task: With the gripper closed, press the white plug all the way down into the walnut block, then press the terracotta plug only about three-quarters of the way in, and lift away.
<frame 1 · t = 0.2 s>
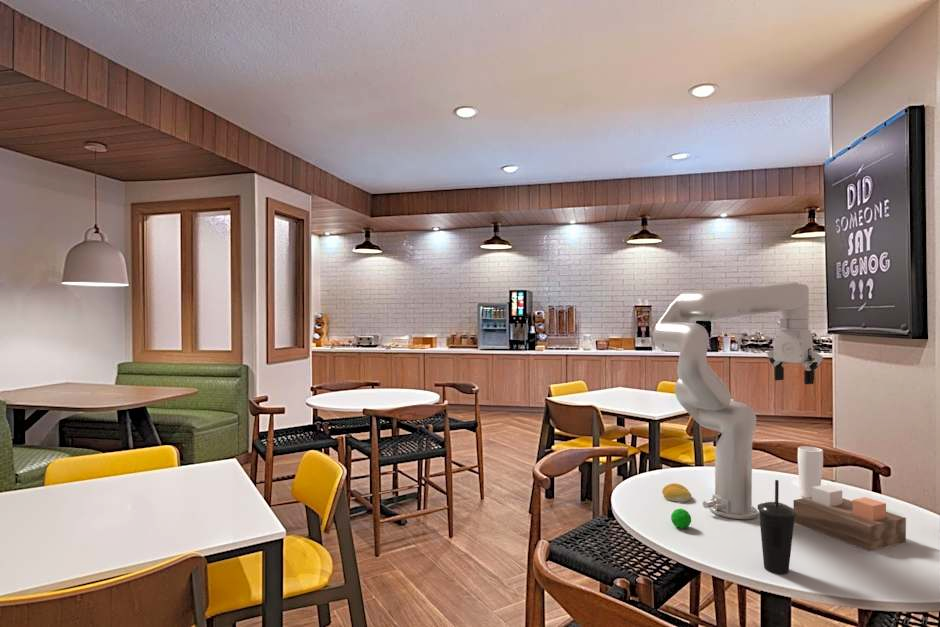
hand: (793, 381, 170), 36 cm above the table, tool pointing down, fingers open, 9 cm apart
bread roll: (676, 498, 174), on the table
drinking cup: (776, 570, 126), on the table
terracotta plug: (869, 509, 143), point 8 cm above the table, slide at 0.0 cm
walnut block: (847, 531, 148), on the table
white plug: (826, 496, 153), point 8 cm above the table, slide at 0.0 cm
drinking glass: (809, 498, 174), on the table
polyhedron: (681, 528, 151), on the table
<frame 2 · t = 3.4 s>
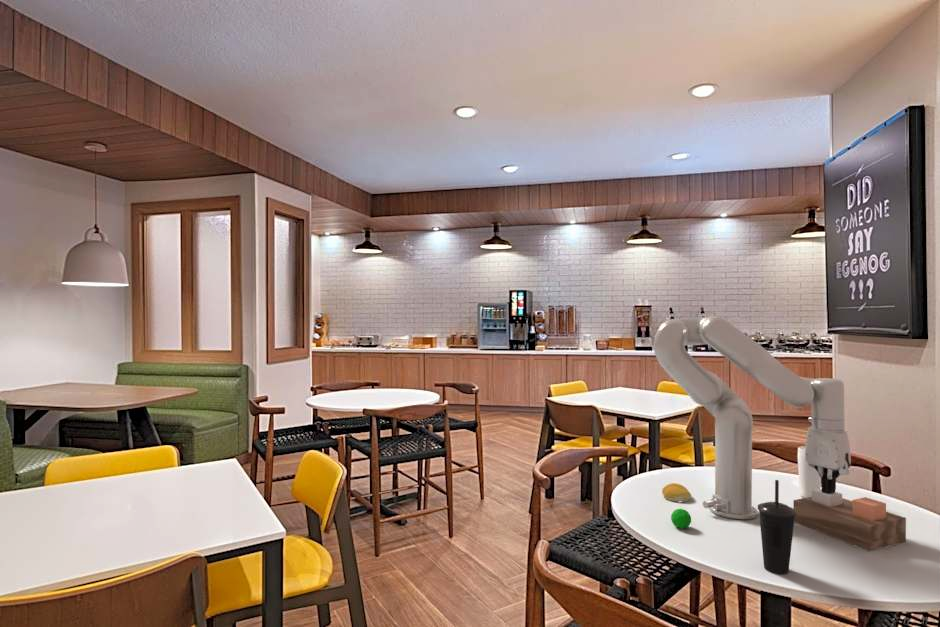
hand: (828, 492, 153), 9 cm above the table, tool pointing down, fingers closed
white plug: (826, 499, 153), point 7 cm above the table, slide at 1.0 cm, touching gripper
everything else where it was.
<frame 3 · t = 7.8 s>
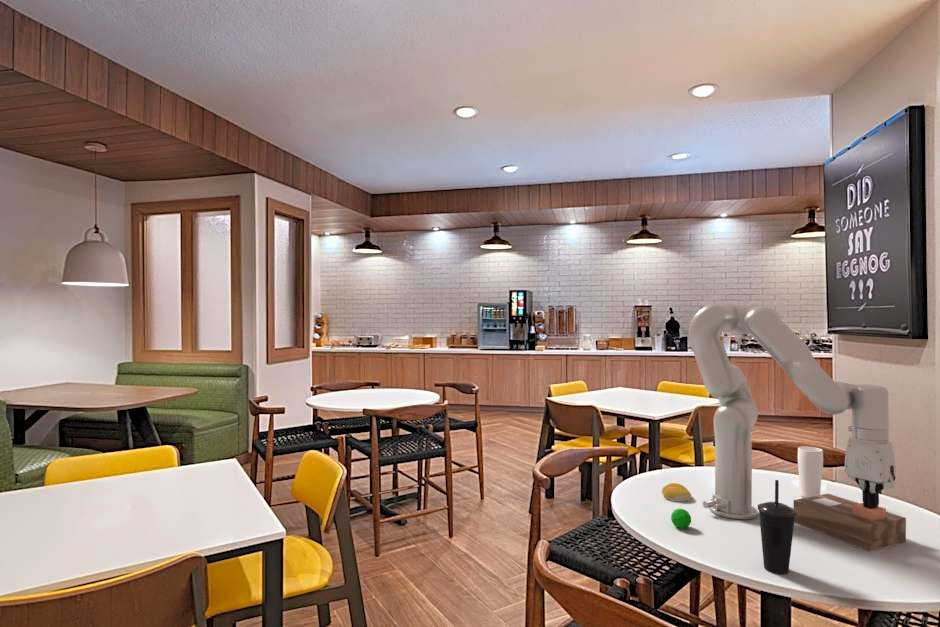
hand: (870, 506, 142), 8 cm above the table, tool pointing down, fingers closed
terracotta plug: (869, 514, 143), point 6 cm above the table, slide at 1.3 cm, touching gripper
white plug: (826, 509, 153), point 4 cm above the table, slide at 3.6 cm
everything else where it was.
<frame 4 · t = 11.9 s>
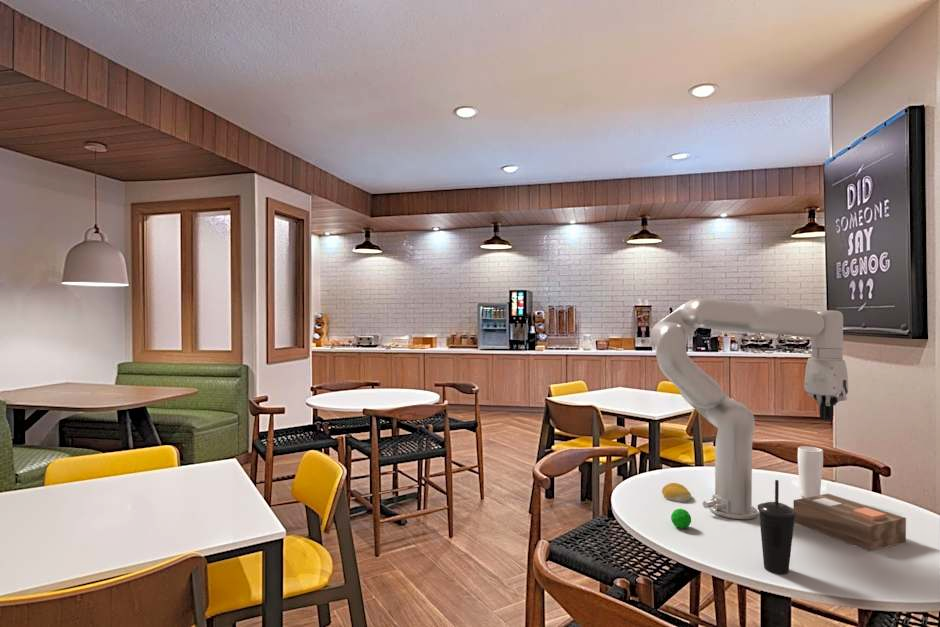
hand: (826, 419, 159), 27 cm above the table, tool pointing down, fingers closed
terracotta plug: (869, 519, 143), point 5 cm above the table, slide at 2.6 cm
everything else where it was.
at the end: white plug slide at 3.6 cm; terracotta plug slide at 2.6 cm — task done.
